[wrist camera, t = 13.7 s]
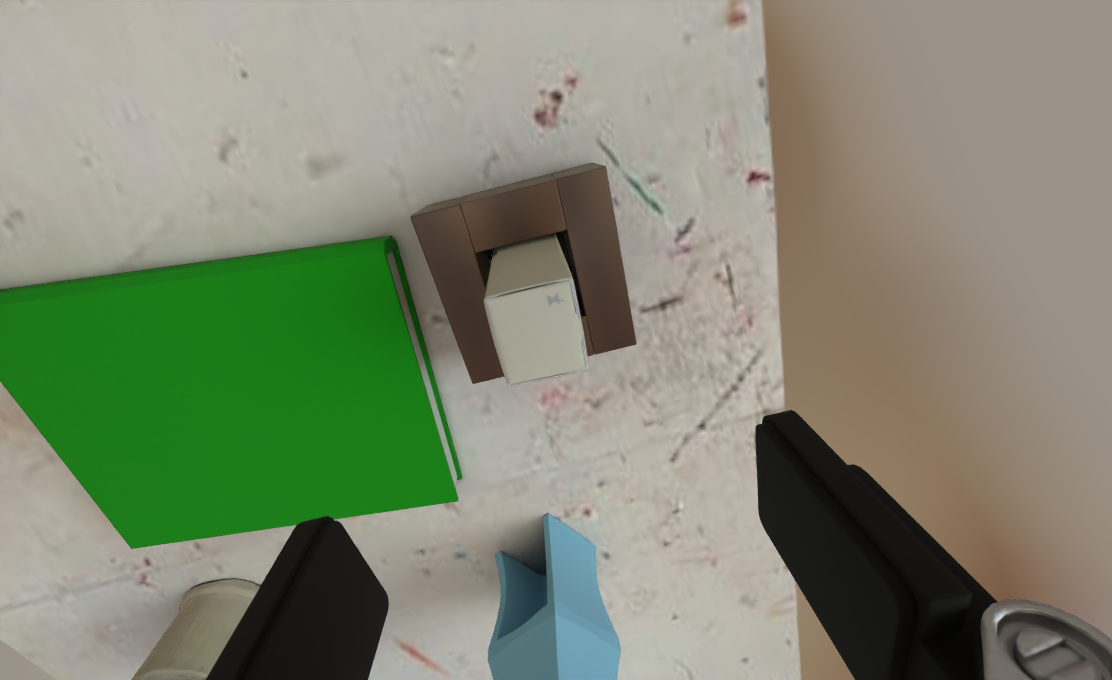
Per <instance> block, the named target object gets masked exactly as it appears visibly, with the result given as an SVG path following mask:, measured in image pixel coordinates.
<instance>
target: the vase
mask: <svg viewBox="0 0 1112 680" xmlns="http://www.w3.org/2000/svg"><path fill="white" fill-rule="evenodd" d="M543 527H544V538H545V551H546V568H547V575H540V574H538V573H536V572H534V571H533V570H531V569H529V568H528V567H526V566H524V565H523V564H521V563H519V562H518V561H516V560H515V559H513V558H511V557H510V556H508V555H506V554H505V553H503V552H501V551H500V552H499V553H498V554H496V555H495V558H496V562H497V566H498V571H499V576H500V585H501V598H500V607H499V612H498V617H497V621H496V625H495V629H494V632H493V636H492V639H491V642H490V646H489V651H488V662H489V666H490V669H491V672H492V676H493V679H494V680H617V675H618V666H619V659H620V651H621V648H620V643H619V638H618V636H617V634H616V632H615V630H614V627H613V625H612V623H611V621H610V619H609V616H608V614H607V612H606V609H605V606H604V604H603V601H602V598H601V595H600V591H599V587H598V582H597V575H596V561H595V552H596V551H595V546H594V545H593V544H592V543H591V542H589V541H588V540H587V539H585V538H584V537H582V536H581V535H579V534H578V533H576V532H575V531H574V530H572V529H571V528H569V527H568V526H566V525H565V524H563V523H562V522H560V521H559V520H557V519H556V518H554V517H553V516H552V515H550V514H549V513H548V514H547V515H545V516H544V517H543Z"/></svg>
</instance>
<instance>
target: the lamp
mask: <svg viewBox="0 0 1112 680" xmlns="http://www.w3.org/2000/svg"><path fill="white" fill-rule="evenodd" d="M259 588H260V586H258V585H256V584H254V583H252V582H248V581H243V580H238V579H229V580H220V581H216V582H211V583H207V584H202V585H199V586H197V587H194V588H192V589H191V590H189V591H188V592H187V593H186V594H185V595H184V596H183V598H182V601H181V604H180V607H179V613H178V615H177V616H176V618H175V619H174V621H173V622H172V623H171V625H170V626H169V628H168V629H167V631H166V632H165V633H164V635H163V636H162V638H161V639H160V641H159V642H158V643H157V645H156V646H155V648H154V649H153V650H152V652H151V653H150V655H149V656H148V657H147V659H146V660H145V662H144V663H143V664H142V666H141V667H140V669H139V670H138V671H137V673H136V674H135V675H134V677H133V678H132V680H206V678H207V676H208V674H209V673H210V671H211V669H212V668H213V666H214V664H215V663H216V661H217V659H218V658H219V656H220V654H221V652H222V651H223V649H224V647H225V646H226V644H227V642H228V641H229V639H230V637H231V635H232V634H233V632H234V630H235V629H236V627H237V625H238V624H239V622H240V620H241V618H242V617H243V615H244V613H245V612H246V610H247V608H248V607H249V605H250V603H251V601H252V600H253V598H254V596H255V595H256V593H257V591H258V590H259Z"/></svg>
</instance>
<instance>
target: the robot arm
mask: <svg viewBox="0 0 1112 680" xmlns="http://www.w3.org/2000/svg"><path fill="white" fill-rule="evenodd" d="M756 456H757V483H758V510H759V516H760V520H761V523H762V525H763V527H764V529H765V531H766V533H767V534H768V536H769V538H770V539H771V541H772V543H773V544H774V546H775V548H776V549H777V551H778V553H779V554H780V556H781V558H782V559H783V561H784V563H785V564H786V566H787V567H788V569H789V571H790V572H791V574H792V576H793V577H794V579H795V581H796V582H797V584H798V585H799V587H800V589H801V591H802V592H803V594H804V596H805V597H806V599H807V601H808V602H809V604H810V606H811V607H812V609H813V610H814V612H815V614H816V616H817V617H818V619H819V621H820V622H821V624H822V625H823V627H824V629H825V630H826V632H827V634H828V635H829V637H830V639H831V640H832V642H833V644H834V645H835V647H836V649H837V650H838V652H839V654H840V655H841V657H842V659H843V660H844V662H845V664H846V665H847V667H848V669H849V670H850V672H851V674H852V675H853V677H854V679H855V680H1112V640H1111V639H1110V638H1109V637H1108V636H1106V635H1105V634H1104V633H1102V632H1101V631H1100V630H1098V629H1097V628H1095V627H1093V626H1091V625H1090V624H1088V623H1087V622H1085V621H1083V620H1081V619H1080V618H1078V617H1076V616H1075V615H1072V614H1070V613H1067V612H1065V611H1063V610H1060V609H1058V608H1055V607H1053V606H1050V605H1047V604H1043V603H1038V602H1034V601H1030V600H1016V599H1006V600H1003V601H1000V602H997V601H996V600H995V599H994V598H993V597H992V596H991V595H990V594H989V593H988V592H987V591H986V590H985V589H984V588H983V587H982V586H981V585H980V584H979V583H978V582H977V581H976V580H975V579H974V578H973V577H972V576H971V575H970V574H969V573H968V572H967V571H966V570H965V569H964V568H963V567H962V566H961V565H960V564H959V563H958V562H957V561H956V560H955V559H954V558H953V557H952V556H951V555H950V554H949V553H948V552H946V550H945V549H944V548H943V547H942V546H941V545H940V544H939V543H938V542H936V540H935V539H934V538H933V537H931V535H930V534H928V533H927V531H925V529H923V528H922V527H921V526H920V525H919V524H918V523H917V522H916V521H915V520H914V519H913V518H912V517H911V516H910V515H909V514H908V513H907V512H906V511H905V510H904V509H903V508H902V507H901V506H900V505H899V504H898V503H897V502H896V501H895V500H894V499H893V498H892V497H891V496H890V495H889V494H888V493H887V492H886V491H885V490H884V489H883V488H882V487H881V486H880V485H879V484H878V483H877V482H876V481H875V480H874V479H873V478H872V477H871V476H870V475H869V474H868V473H867V472H865V471H864V470H863V469H862V468H861V467H859V466H856V465H847V464H846V463H845V462H844V461H843V460H842V459H841V458H840V457H839V456H838V455H837V454H836V453H835V452H834V451H833V450H832V449H831V448H830V447H829V446H828V445H827V444H826V442H824V440H823V439H821V437H820V436H819V435H818V434H817V433H816V432H815V431H814V430H813V429H812V428H811V427H810V426H809V425H808V424H807V423H806V422H805V421H804V420H803V419H802V418H801V417H800V416H799V415H798V414H797V413H796V412H795V411H792V410H789V411H785V412H780V413H776V414H771V415H767V416H764V417H763V420H762V424H759V425H757V426H756ZM388 606H389V601H388V595H387V593H386V591H385V590H384V588H383V587H382V585H381V584H380V582H379V581H378V579H377V578H376V576H375V575H374V573H373V571H372V570H371V568H370V567H369V565H368V564H367V562H366V561H365V559H364V558H363V556H362V555H361V553H360V552H359V550H358V549H357V547H356V545H355V544H354V542H353V541H352V539H351V538H350V536H349V535H348V533H347V532H346V530H345V529H344V527H343V526H342V524H341V523H340V522H338V521H334V520H333V519H332V518H331V517H329V516H325V517H320V518H316V519H311V520H307V521H303V522H301V523H299V524H298V525H297V526H296V527H295V529H294V530H293V532H292V534H291V535H290V537H289V539H288V540H287V542H286V544H285V545H284V547H283V549H282V551H281V552H280V554H279V556H278V557H277V559H276V561H275V562H274V564H273V566H272V568H271V569H270V571H269V573H268V574H267V576H266V578H265V579H264V581H263V583H262V585H261V586H260V588H259V590H258V591H257V593H256V595H255V596H254V598H253V600H252V601H251V603H250V605H249V607H248V608H247V610H246V612H245V613H244V615H243V617H242V618H241V620H240V622H239V624H238V625H237V627H236V629H235V630H234V632H233V634H232V635H231V637H230V639H229V641H228V642H227V644H226V646H225V647H224V649H223V651H222V652H221V654H220V656H219V658H218V659H217V661H216V663H215V664H214V666H213V668H212V669H211V671H210V673H209V674H208V676H207V678H206V680H368V678H369V674H370V671H371V667H372V664H373V660H374V657H375V654H376V650H377V647H378V643H379V640H380V636H381V633H382V629H383V626H384V623H385V619H386V616H387V612H388Z"/></svg>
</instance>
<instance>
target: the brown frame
mask: <svg viewBox="0 0 1112 680" xmlns="http://www.w3.org/2000/svg"><path fill="white" fill-rule="evenodd" d="M411 220H412V223H413V225H414V228H415V231H416V233H417V236H418V239H419V241H420V244H421V247H422V250H423V252H424V255H425V258H426V260H427V263H428V266H429V268H430V271H431V274H432V276H433V279H434V282H435V284H436V287H437V290H438V292H439V295H440V298H441V300H442V303H443V306H444V308H445V311H446V314H447V316H448V319H449V322H450V324H451V327H452V330H453V332H454V335H455V338H456V340H457V343H458V346H459V349H460V351H461V354H462V357H463V359H464V362H465V365H466V367H467V370H468V373H469V375H470V378H471V381H472V383H473V384H475V383H479V382H483V381H487V380H491V379H496V378H500V377H504V376H505V375H504V373H503V370H502V366H501V363H500V360H499V357H498V354H497V350H496V347H495V344H494V340H493V336H492V333H491V329H490V325H489V321H488V317H487V313H486V309H485V304H484V298H485V293H486V288H487V282H488V277H489V272H490V266H491V265H490V262H489V259H488V256H487V253H486V250H490V249H494V248H498V247H502V246H506V245H510V244H514V243H518V242H522V241H526V240H530V239H534V238H537V237H541V236H545V235H549V234H553V233H557V232H561V231H564V236H565V240H566V245H567V249H568V253H569V258H570V262H571V267H572V271H573V276H574V280H575V285H576V289H577V293H578V294H577V293H576V295H577V300H578V305H579V310H580V315H581V321H582V326H583V331H584V337H585V343H586V350H587V356H590V355H594V354H599V353H603V352H607V351H611V350H615V349H619V348H624V347H628V346H632V345H636V338H635V332H634V327H633V321H632V315H631V309H630V303H629V298H628V292H627V286H626V280H625V274H624V268H623V263H622V257H621V251H620V245H619V239H618V234H617V228H616V222H615V216H614V210H613V204H612V199H611V193H610V187H609V181H608V175H607V169H606V167H605V166H602V165H598V164H595V163H590V164H586V165H582V166H578V167H574V168H570V169H566V170H563V171H559V172H555V173H551V174H547V175H543V176H539V177H536V178H532V179H528V180H524V181H520V182H516V183H512V184H509V185H505V186H501V187H497V188H493V189H489V190H485V191H481V192H478V193H474V194H470V195H466V196H462V197H458V198H454V199H451V200H447V201H443V202H439V203H435V204H431V205H428V206H426V207H425V208H423V209H422V210H420V211H419V212H417V213H416V214H414V215H413V216H411Z"/></svg>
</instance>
